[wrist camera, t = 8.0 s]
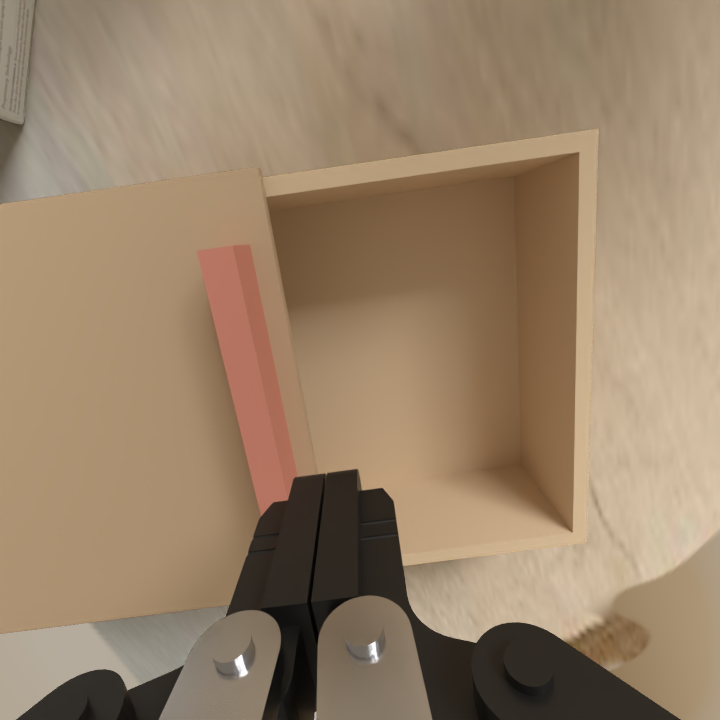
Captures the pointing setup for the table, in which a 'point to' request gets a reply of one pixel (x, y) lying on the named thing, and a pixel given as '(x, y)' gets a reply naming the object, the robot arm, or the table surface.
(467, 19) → the table surface
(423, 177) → the mailer box
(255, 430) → the lid
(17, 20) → the small box
